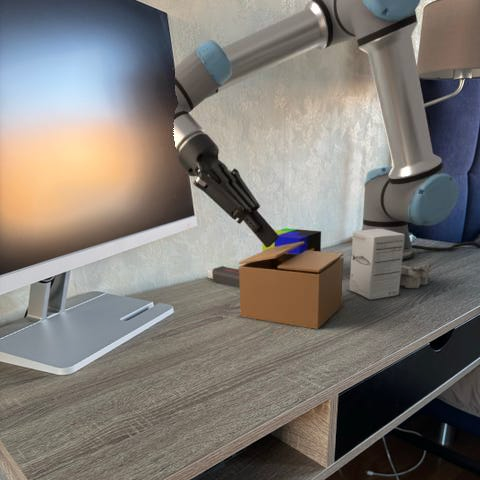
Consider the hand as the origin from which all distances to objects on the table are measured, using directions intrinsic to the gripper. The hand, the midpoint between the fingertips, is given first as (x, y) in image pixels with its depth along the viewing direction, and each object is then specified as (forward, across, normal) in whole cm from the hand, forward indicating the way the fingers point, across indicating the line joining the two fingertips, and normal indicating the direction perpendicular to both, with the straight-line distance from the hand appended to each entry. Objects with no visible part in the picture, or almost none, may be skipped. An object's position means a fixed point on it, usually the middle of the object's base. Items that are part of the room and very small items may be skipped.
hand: (273, 242), depth 81 cm
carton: (+12, 0, -6) cm, 13 cm away
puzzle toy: (+5, -24, -14) cm, 28 cm away
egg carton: (+22, -27, +4) cm, 35 cm away
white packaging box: (+20, -17, +1) cm, 26 cm away
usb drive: (-3, -13, -22) cm, 26 cm away
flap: (+1, 0, -1) cm, 2 cm away
